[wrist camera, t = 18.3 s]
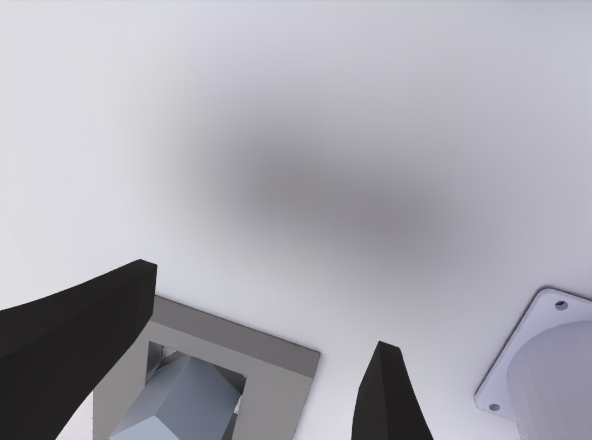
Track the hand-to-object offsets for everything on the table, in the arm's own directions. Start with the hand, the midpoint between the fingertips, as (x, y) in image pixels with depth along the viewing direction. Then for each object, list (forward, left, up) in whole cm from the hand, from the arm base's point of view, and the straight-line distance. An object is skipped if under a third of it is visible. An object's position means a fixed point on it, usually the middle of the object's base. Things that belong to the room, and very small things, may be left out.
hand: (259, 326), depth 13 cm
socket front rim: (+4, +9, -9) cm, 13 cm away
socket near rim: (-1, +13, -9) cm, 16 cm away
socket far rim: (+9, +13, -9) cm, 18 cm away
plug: (+4, +13, -9) cm, 16 cm away
